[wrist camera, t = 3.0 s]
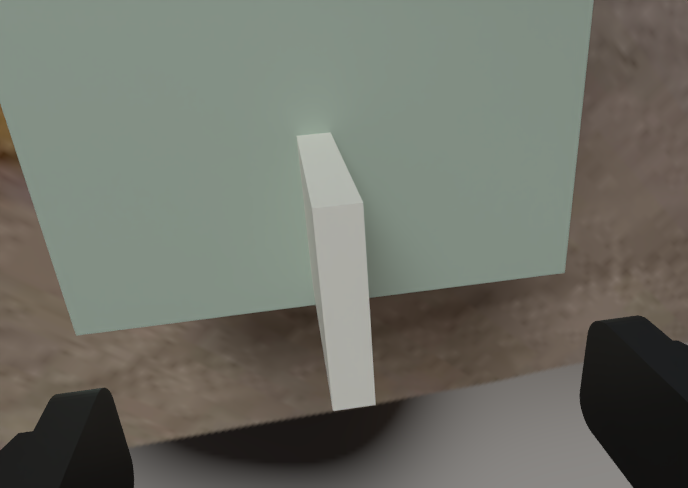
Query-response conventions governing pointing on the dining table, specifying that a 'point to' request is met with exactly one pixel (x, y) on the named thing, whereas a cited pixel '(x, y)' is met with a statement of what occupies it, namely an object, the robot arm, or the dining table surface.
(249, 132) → the lid
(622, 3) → the dining table surface
